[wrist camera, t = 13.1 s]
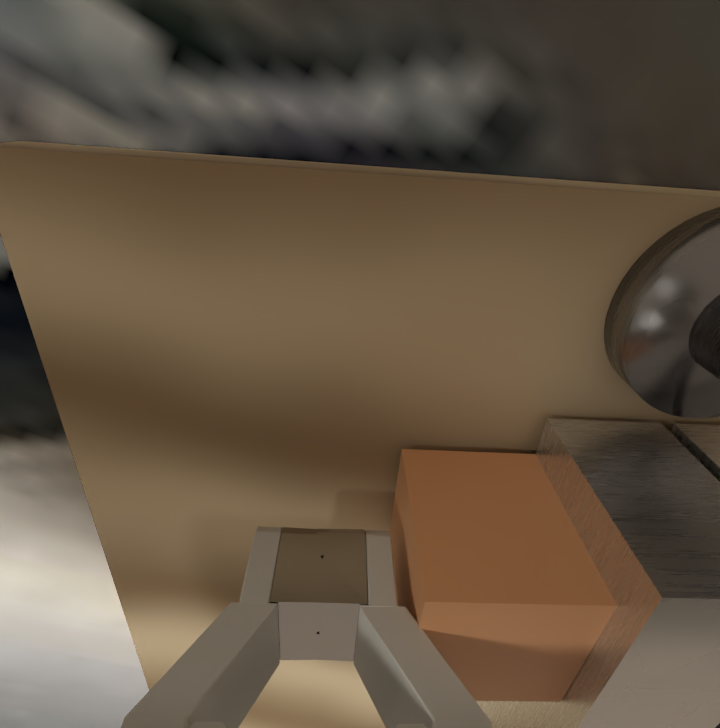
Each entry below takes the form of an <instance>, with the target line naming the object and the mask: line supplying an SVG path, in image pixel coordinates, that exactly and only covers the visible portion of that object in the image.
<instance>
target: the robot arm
mask: <svg viewBox="0 0 720 728" xmlns="http://www.w3.org/2000/svg"><path fill="white" fill-rule="evenodd" d="M280 660H332V661H353V662H354V666H355V668H356V670H357V672H358V674H359V676H360V678H361V680H362V682H363V684H364V686H365V688H366V690H367V692H368V694H369V696H370V698H371V700H372V702H373V704H374V706H375V708H376V710H377V712H378V714H379V716H380V718H381V719H382V721H383V723H384V725H385V727H386V728H493V727H492V723H491V721H490V720H489V719H488V717H487V716H486V715H485V713H484V712H483V710H482V709H481V708H480V706H479V705H478V704H477V702H476V701H475V700H474V698H473V697H472V696H471V694H470V693H469V692H468V690H467V689H466V688H465V686H464V685H463V683H462V682H461V681H460V679H459V678H458V677H457V675H456V674H455V673H454V671H453V670H452V669H451V667H450V666H449V665H448V663H447V662H446V660H445V659H444V658H443V656H442V655H441V654H440V652H439V651H438V650H437V648H436V647H435V646H434V644H433V643H432V642H431V640H430V639H429V638H428V636H427V635H426V633H425V632H424V631H423V630H422V629H419V626H418V623H417V621H416V620H415V619H414V617H413V616H412V615H411V613H410V612H409V610H408V609H407V608H406V606H398V602H397V591H396V581H395V571H394V561H393V551H392V541H391V534H390V532H389V531H383V530H364V529H307V528H289V527H267V526H258V527H257V529H256V532H255V534H254V538H253V543H252V547H251V551H250V556H249V560H248V565H247V569H246V573H245V578H244V582H243V586H242V591H241V595H240V599H239V602H231V603H230V604H229V605H228V606H227V607H226V608H225V609H224V611H223V612H222V613H221V614H220V615H219V616H218V617H217V618H216V619H215V620H214V621H213V622H212V624H211V625H210V626H209V627H208V628H207V629H206V630H205V631H204V632H203V633H202V634H201V635H200V637H199V638H198V639H197V640H196V641H195V642H194V643H193V644H192V645H191V646H190V647H189V648H188V650H187V651H186V652H185V653H184V654H183V655H182V656H181V657H180V658H179V659H178V660H177V661H176V663H175V664H174V665H173V666H172V667H171V668H170V669H169V670H168V671H167V672H166V673H165V674H164V676H163V677H162V678H161V679H160V680H159V681H158V682H157V683H156V684H155V685H154V686H153V688H152V689H151V690H150V691H149V692H148V693H147V694H146V695H145V696H144V697H143V698H142V699H141V701H140V702H139V703H138V704H137V705H136V706H135V707H134V708H133V709H132V710H131V711H130V712H129V714H128V715H127V716H126V717H125V718H124V721H123V723H122V726H121V728H239V726H240V724H241V723H242V721H243V720H244V718H245V717H246V715H247V714H248V712H249V710H250V709H251V707H252V706H253V704H254V703H255V701H256V700H257V698H258V697H259V695H260V693H261V692H262V690H263V689H264V687H265V686H266V684H267V683H268V681H269V679H270V678H271V676H272V675H273V673H274V672H275V670H276V669H277V667H278V665H279V664H280Z"/></svg>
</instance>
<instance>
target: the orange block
mask: <svg viewBox="0 0 720 728" xmlns="http://www.w3.org/2000/svg"><path fill="white" fill-rule="evenodd" d="M390 534H391V541H392V551H393V561H394V571H395V581H396V591H397V602H398V606H406V608H407V609H408V610H409V612H410V613H411V615H412V616H413V617H414V619H415V620H416V621H417V623H418V626H419V629H422V630H423V631H424V632H425V633H426V635H427V636H428V638H429V639H430V640H431V642H432V643H433V644H434V646H435V647H436V648H437V650H438V651H439V652H440V654H441V655H442V656H443V658H444V659H445V660H446V662H447V663H448V665H449V666H450V667H451V669H452V670H453V671H454V673H455V674H456V675H457V677H458V678H459V679H460V681H461V682H462V683H463V685H464V686H465V688H466V689H467V690H468V692H469V693H470V694H471V696H472V697H473V698H474V700H475V701H536V702H561V701H562V699H563V698H564V696H565V694H566V692H567V691H568V689H569V687H570V686H571V684H572V682H573V681H574V679H575V677H576V675H577V674H578V672H579V670H580V669H581V667H582V665H583V664H584V662H585V660H586V658H587V657H588V655H589V653H590V652H591V650H592V648H593V647H594V645H595V643H596V641H597V640H598V638H599V636H600V635H601V633H602V631H603V629H604V628H605V626H606V624H607V623H608V621H609V619H610V618H611V616H612V614H613V612H614V611H615V609H616V607H617V604H616V603H615V601H614V599H613V597H612V595H611V593H610V592H609V590H608V588H607V586H606V584H605V582H604V580H603V579H602V577H601V575H600V573H599V571H598V569H597V567H596V566H595V564H594V562H593V560H592V558H591V556H590V555H589V553H588V551H587V549H586V547H585V545H584V543H583V542H582V540H581V538H580V536H579V534H578V532H577V530H576V529H575V527H574V525H573V523H572V521H571V519H570V518H569V516H568V514H567V512H566V510H565V508H564V506H563V505H562V503H561V501H560V499H559V497H558V495H557V494H556V492H555V490H554V488H553V486H552V484H551V482H550V481H549V479H548V477H547V475H546V473H545V471H544V469H543V468H542V466H541V464H540V462H539V460H538V458H537V457H536V455H535V454H518V453H493V452H467V451H442V450H416V449H402V450H401V457H400V464H399V471H398V478H397V485H396V491H395V498H394V505H393V512H392V519H391V525H390Z"/></svg>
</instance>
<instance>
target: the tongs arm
mask: <svg viewBox="0 0 720 728" xmlns="http://www.w3.org/2000/svg"><path fill="white" fill-rule="evenodd" d="M535 455H536V457H537V458H538V460H539V462H540V464H541V466H542V468H543V469H544V471H545V473H546V475H547V477H548V479H549V481H550V482H551V484H552V486H553V488H554V490H555V492H556V494H557V495H558V497H559V499H560V501H561V503H562V505H563V506H564V508H565V510H566V512H567V514H568V516H569V518H570V519H571V521H572V523H573V525H574V527H575V529H576V530H577V532H578V534H579V536H580V538H581V540H582V542H583V543H584V545H585V547H586V549H587V551H588V553H589V555H590V556H591V558H592V560H593V562H594V564H595V566H596V567H597V569H598V571H599V573H600V575H601V577H602V579H603V580H604V582H605V584H606V586H607V588H608V590H609V592H610V593H611V595H612V597H613V599H614V601H615V603H616V604H617V607H616V609H615V611H614V612H613V614H612V616H611V618H610V619H609V621H608V623H607V624H606V626H605V628H604V629H603V631H602V633H601V635H600V636H599V638H598V640H597V641H596V643H595V645H594V647H593V648H592V650H591V652H590V653H589V655H588V657H587V658H586V660H585V662H584V664H583V665H582V667H581V669H580V670H579V672H578V674H577V675H576V677H575V679H574V681H573V682H572V684H571V686H570V687H569V689H568V691H567V692H566V694H565V696H564V698H563V699H562V701H561V702H536V701H476V702H477V704H478V705H479V706H480V708H481V709H482V710H483V712H484V713H485V715H486V716H487V717H488V719H489V720H490V721H491V723H492V727H493V728H715V727H716V726H717V725H718V724H719V723H720V482H719V481H718V480H717V479H716V478H715V477H714V476H713V475H712V474H711V473H710V472H709V471H708V470H707V469H706V468H705V467H704V466H703V465H702V464H701V463H700V462H699V461H698V460H697V459H696V458H695V457H694V456H693V455H692V454H691V453H690V452H689V451H688V450H687V449H686V448H685V447H684V446H683V445H682V444H681V443H680V442H679V441H678V440H677V439H676V438H675V437H674V436H673V435H672V434H671V433H670V432H669V431H668V430H667V429H666V428H665V427H664V426H663V425H662V424H661V423H651V422H625V421H599V420H573V419H547V420H546V423H545V426H544V429H543V432H542V435H541V438H540V441H539V444H538V447H537V450H536V453H535Z"/></svg>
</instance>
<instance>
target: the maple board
mask: <svg viewBox="0 0 720 728" xmlns="http://www.w3.org/2000/svg"><path fill="white" fill-rule="evenodd" d="M717 207H720V191H714V190H700V189H686V188H672V187H658V186H644V185H630V184H616V183H602V182H588V181H574V180H561V179H547V178H533V177H519V176H505V175H491V174H477V173H463V172H449V171H435V170H421V169H407V168H393V167H379V166H365V165H351V164H337V163H323V162H309V161H295V160H281V159H267V158H253V157H240V156H226V155H212V154H198V153H184V152H170V151H156V150H142V149H128V148H114V147H100V146H86V145H72V144H58V143H44V142H30V141H13V142H2V143H0V235H1V238H2V241H3V244H4V247H5V250H6V253H7V256H8V259H9V262H10V265H11V268H12V271H13V275H14V278H15V281H16V284H17V287H18V290H19V293H20V296H21V299H22V302H23V305H24V308H25V311H26V314H27V317H28V320H29V323H30V327H31V330H32V333H33V336H34V339H35V342H36V345H37V348H38V351H39V354H40V357H41V360H42V363H43V366H44V369H45V372H46V376H47V379H48V382H49V385H50V388H51V391H52V394H53V397H54V400H55V403H56V406H57V409H58V412H59V415H60V418H61V421H62V424H63V428H64V431H65V434H66V437H67V440H68V443H69V446H70V449H71V452H72V455H73V458H74V461H75V464H76V467H77V470H78V473H79V476H80V480H81V483H82V486H83V489H84V492H85V495H86V498H87V501H88V504H89V507H90V510H91V513H92V516H93V519H94V522H95V525H96V529H97V532H98V535H99V538H100V541H101V544H102V547H103V550H104V553H105V556H106V559H107V562H108V565H109V568H110V571H111V574H112V577H113V581H114V584H115V587H116V590H117V593H118V596H119V599H120V602H121V605H122V608H123V611H124V614H125V617H126V620H127V623H128V626H129V630H130V633H131V636H132V639H133V642H134V645H135V648H136V651H137V654H138V657H139V660H140V663H141V666H142V669H143V672H144V675H145V678H146V682H147V685H148V688H149V691H150V690H151V689H152V688H153V686H154V685H155V684H156V683H157V682H158V681H159V680H160V679H161V678H162V677H163V676H164V674H165V673H166V672H167V671H168V670H169V669H170V668H171V667H172V666H173V665H174V664H175V663H176V661H177V660H178V659H179V658H180V657H181V656H182V655H183V654H184V653H185V652H186V651H187V650H188V648H189V647H190V646H191V645H192V644H193V643H194V642H195V641H196V640H197V639H198V638H199V637H200V635H201V634H202V633H203V632H204V631H205V630H206V629H207V628H208V627H209V626H210V625H211V624H212V622H213V621H214V620H215V619H216V618H217V617H218V616H219V615H220V614H221V613H222V612H223V611H224V609H225V608H226V607H227V606H228V605H229V604H230V603H231V602H239V599H240V595H241V591H242V586H243V582H244V578H245V573H246V569H247V565H248V560H249V556H250V551H251V547H252V543H253V538H254V534H255V532H256V529H257V527H258V526H267V527H289V528H307V529H364V530H383V531H389V532H390V525H391V519H392V512H393V505H394V498H395V491H396V485H397V478H398V471H399V464H400V457H401V450H402V449H416V450H442V451H467V452H493V453H518V454H535V453H536V450H537V447H538V444H539V441H540V438H541V435H542V432H543V429H544V426H545V423H546V420H547V419H573V420H599V421H625V422H651V423H661V424H662V425H663V426H664V427H665V428H666V429H667V430H668V431H669V432H670V430H671V428H672V426H673V424H674V423H675V424H698V425H720V417H712V418H685V417H678V416H674V415H669V414H667V413H664V412H662V411H659V410H657V409H655V408H654V407H652V406H650V405H649V404H648V403H647V402H645V401H644V400H643V399H642V398H641V397H640V396H639V395H638V394H637V393H636V392H635V391H634V390H633V389H632V388H631V387H630V386H629V385H628V384H627V383H626V382H625V381H623V380H622V379H621V378H620V376H619V375H618V374H617V373H616V372H615V370H614V369H613V367H612V365H611V364H610V362H609V360H608V357H607V354H606V350H605V344H604V326H605V320H606V315H607V312H608V308H609V305H610V302H611V300H612V298H613V296H614V293H615V291H616V289H617V288H618V286H619V284H620V282H621V281H622V279H623V277H624V276H625V275H626V273H627V272H628V271H629V269H630V268H631V266H632V265H633V264H634V263H635V262H636V261H637V259H638V258H639V257H640V256H641V255H642V254H643V253H644V252H645V251H646V250H647V249H648V248H649V247H650V246H651V245H652V244H654V243H655V242H656V241H657V240H658V239H660V238H661V237H662V236H664V235H665V234H666V233H667V232H669V231H670V230H672V229H673V228H675V227H677V226H678V225H680V224H681V223H683V222H685V221H687V220H689V219H691V218H693V217H695V216H697V215H699V214H701V213H703V212H706V211H709V210H711V209H714V208H717ZM239 728H386V727H385V725H384V723H383V721H382V719H381V718H380V716H379V714H378V712H377V710H376V708H375V706H374V704H373V702H372V700H371V698H370V696H369V694H368V692H367V690H366V688H365V686H364V684H363V682H362V680H361V678H360V676H359V674H358V672H357V670H356V668H355V666H354V662H353V661H332V660H280V664H279V665H278V667H277V669H276V670H275V672H274V673H273V675H272V676H271V678H270V679H269V681H268V683H267V684H266V686H265V687H264V689H263V690H262V692H261V693H260V695H259V697H258V698H257V700H256V701H255V703H254V704H253V706H252V707H251V709H250V710H249V712H248V714H247V715H246V717H245V718H244V720H243V721H242V723H241V724H240V726H239Z"/></svg>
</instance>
